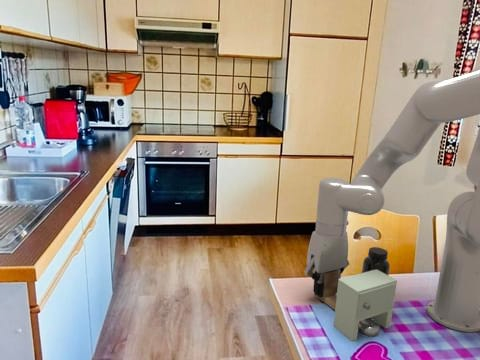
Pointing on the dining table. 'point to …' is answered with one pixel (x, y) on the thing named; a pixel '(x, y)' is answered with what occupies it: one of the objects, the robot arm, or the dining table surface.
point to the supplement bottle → (376, 261)
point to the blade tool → (329, 288)
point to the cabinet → (364, 301)
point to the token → (368, 328)
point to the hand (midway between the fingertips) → (325, 292)
